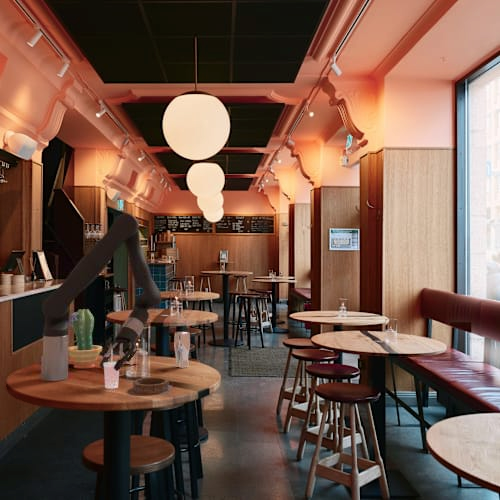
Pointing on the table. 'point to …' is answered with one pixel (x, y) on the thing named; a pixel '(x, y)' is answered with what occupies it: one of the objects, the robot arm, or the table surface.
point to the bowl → (150, 385)
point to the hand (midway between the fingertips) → (108, 368)
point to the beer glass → (182, 348)
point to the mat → (157, 393)
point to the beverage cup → (111, 374)
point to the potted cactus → (83, 340)
